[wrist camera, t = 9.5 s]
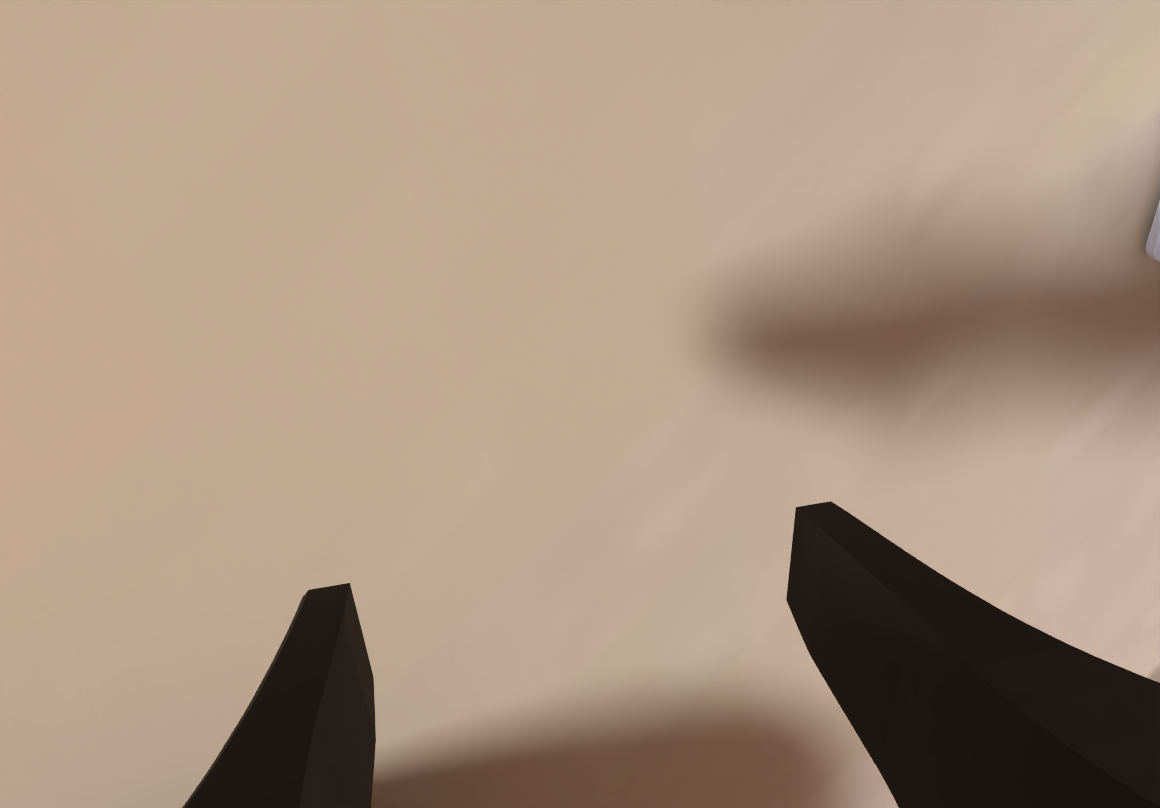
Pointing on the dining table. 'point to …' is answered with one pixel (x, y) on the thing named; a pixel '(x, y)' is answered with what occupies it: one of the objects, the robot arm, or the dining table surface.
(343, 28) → the dining table surface
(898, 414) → the dining table surface
